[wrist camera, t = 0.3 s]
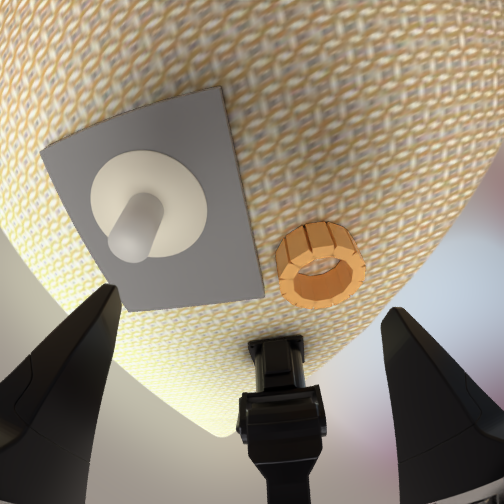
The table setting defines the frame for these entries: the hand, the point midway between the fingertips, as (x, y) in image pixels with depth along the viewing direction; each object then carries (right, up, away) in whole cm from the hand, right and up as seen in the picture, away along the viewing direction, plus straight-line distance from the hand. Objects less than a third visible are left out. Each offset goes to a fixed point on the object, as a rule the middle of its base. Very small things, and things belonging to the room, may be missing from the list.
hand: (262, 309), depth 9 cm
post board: (-8, +4, +13) cm, 16 cm away
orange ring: (+5, +1, +16) cm, 17 cm away
